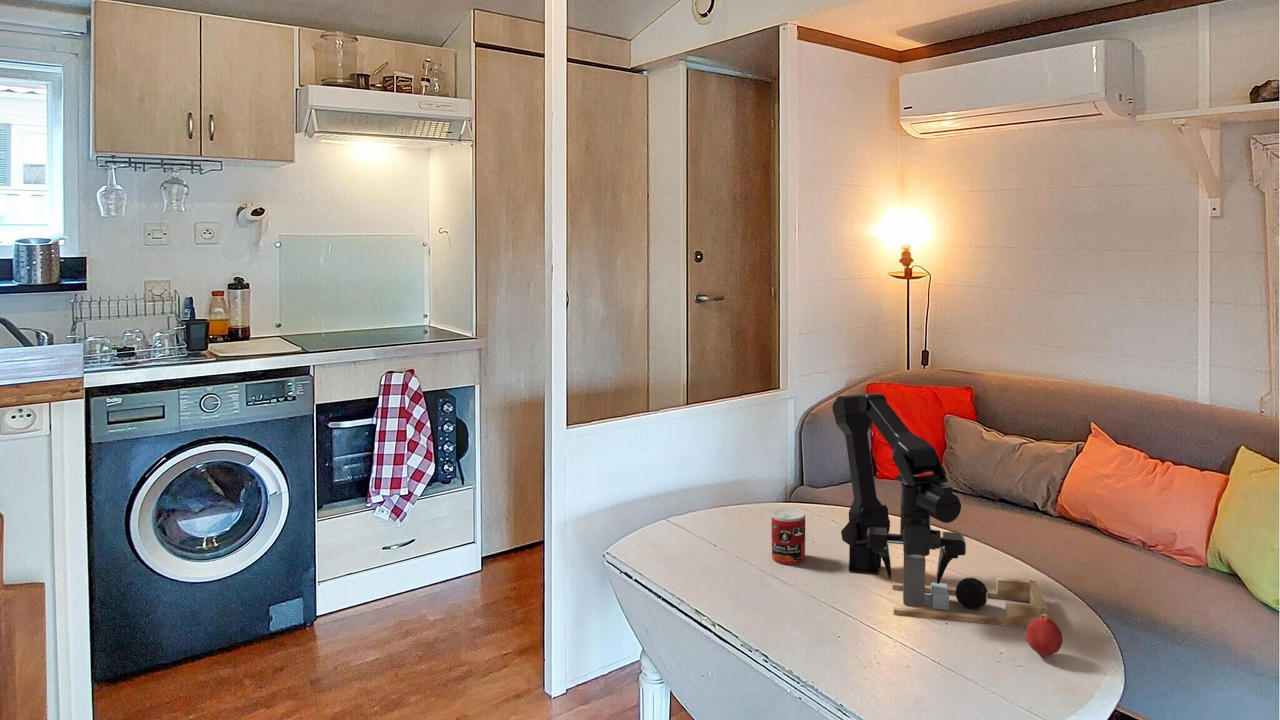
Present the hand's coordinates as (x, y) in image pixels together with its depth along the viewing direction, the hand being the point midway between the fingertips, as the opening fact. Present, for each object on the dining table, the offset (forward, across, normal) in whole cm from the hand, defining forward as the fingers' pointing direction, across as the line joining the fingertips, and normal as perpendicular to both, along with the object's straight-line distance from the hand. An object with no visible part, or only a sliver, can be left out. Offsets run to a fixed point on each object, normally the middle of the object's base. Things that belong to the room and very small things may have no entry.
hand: (913, 581), depth 168 cm
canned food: (+5, -27, +18) cm, 33 cm away
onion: (+5, +21, -18) cm, 28 cm away
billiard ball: (+5, +11, 0) cm, 12 cm away
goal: (+4, +20, 0) cm, 20 cm away
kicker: (+4, +2, 0) cm, 5 cm away
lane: (+4, +6, 0) cm, 8 cm away
